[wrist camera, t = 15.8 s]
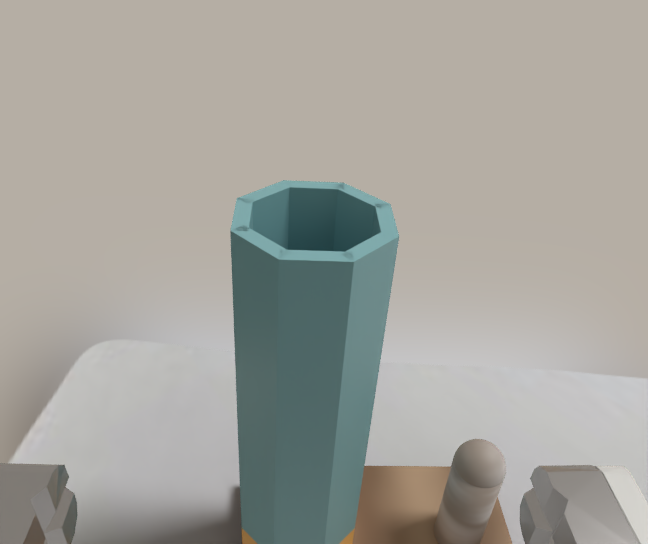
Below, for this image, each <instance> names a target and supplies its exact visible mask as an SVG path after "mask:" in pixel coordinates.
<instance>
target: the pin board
mask: <svg viewBox="0 0 648 544" xmlns="http://www.w3.org/2000/svg"><path fill="white" fill-rule="evenodd" d="M505 474H506V462H505V459H504V457H503V455H502V453H501V451H500V450H499V449H498V448H497V447H496V446H495V445H494V444H492V443H490V442H488V441H486V440H482V439H473V440H469V441H467V442H465V443H463V444H462V445H461V446H460V447H459V448H458V449H457V451H456V453H455V455H454V458H453V462H452V465H451V467H427V466H364V471H363V477H362V484H361V490H360V497H359V503H358V510H357V517H356V523H355V530H354V536H353V543H352V544H512V541H511V538H510V535H509V532H508V529H507V525H506V522H505V519H504V516H503V513H502V510H501V507H500V503H499V500H498V494H499V491H500V488H501V486H502V483H503V480H504V478H505Z"/></svg>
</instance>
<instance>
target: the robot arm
mask: <svg viewBox="0 0 648 544" xmlns="http://www.w3.org/2000/svg"><path fill="white" fill-rule="evenodd" d="M68 478H69V476H68V473H67V471H66V468H65V466H64V465H49V464H5V463H4V464H3V463H0V544H71V542H72V539H73V536H74V533H75V526H76V520H77V502H76V499H75V495H74V493H73V492H71V491H70V490H69V489H67V488H66V487H65V486H66V483H67V481H68ZM530 479H531V482H532V484H533V487H534V488H532V489H531V490H529V491H528V492H526V493H525V494H524V496H523V499H522V502H521V505H520V525H521V530H522V535H523V538H524V541H525V544H648V503H647V501H646V499H645V497H644V496H643V494H642V492H641V490H640V489H639V487H638V485H637V483H636V481H635V480H634V478H633V476H632V474H631V473H630V471H628V470H627V469H626V468H625V467H623V466H592V465H572V466H539V467H537V468H536V469H534V471H533V474H532V476H531V478H530Z"/></svg>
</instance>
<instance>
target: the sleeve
mask: <svg viewBox="0 0 648 544" xmlns="http://www.w3.org/2000/svg"><path fill="white" fill-rule="evenodd" d="M398 240H399V234H398V231H397V227H396V223H395V219H394V216H393V212H392V208H391V205H390V204H389V203H387V202H385V201H382V200H380V199H378V198H376V197H374V196H371V195H369V194H367V193H365V192H363V191H360V190H358V189H356V188H354V187H352V186H349V185H347V184H345V183H336V182H310V181H285V180H283V181H281V182H278V183H276V184H273V185H270V186H268V187H265V188H263V189H260V190H257V191H255V192H252V193H250V194H247V195H244V196H242V197H239V198H237V201H236V206H235V211H234V216H233V221H232V226H231V257H232V281H233V282H232V283H233V308H234V309H233V310H234V337H235V364H236V391H237V417H238V444H239V471H240V498H241V525H242V544H352V543H353V536H354V530H355V523H356V517H357V510H358V503H359V497H360V490H361V484H362V477H363V471H364V464H365V457H366V451H367V444H368V438H369V431H370V424H371V418H372V411H373V405H374V398H375V392H376V385H377V378H378V372H379V365H380V359H381V352H382V345H383V339H384V332H385V325H386V319H387V312H388V306H389V299H390V293H391V286H392V279H393V273H394V266H395V260H396V253H397V247H398Z"/></svg>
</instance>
